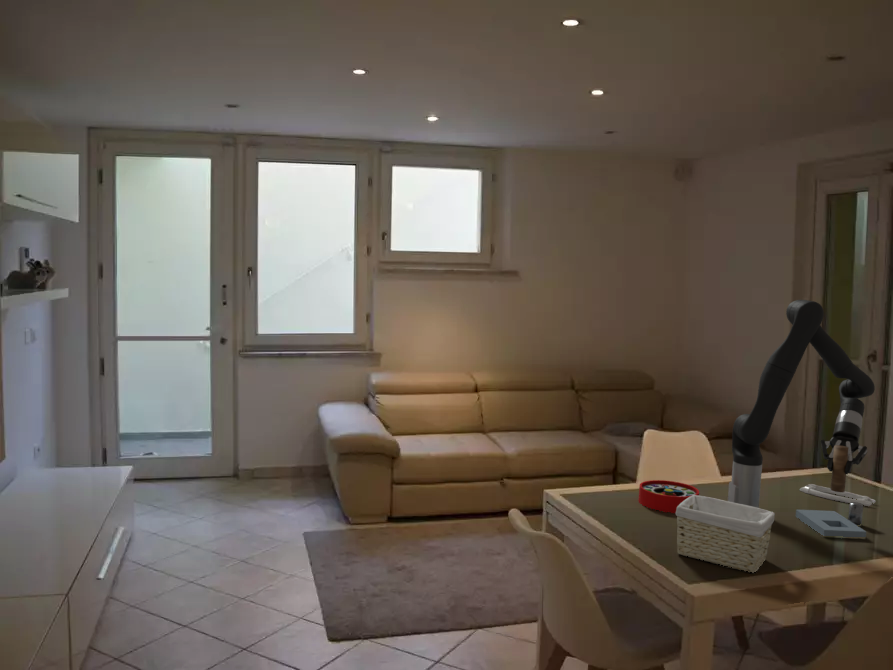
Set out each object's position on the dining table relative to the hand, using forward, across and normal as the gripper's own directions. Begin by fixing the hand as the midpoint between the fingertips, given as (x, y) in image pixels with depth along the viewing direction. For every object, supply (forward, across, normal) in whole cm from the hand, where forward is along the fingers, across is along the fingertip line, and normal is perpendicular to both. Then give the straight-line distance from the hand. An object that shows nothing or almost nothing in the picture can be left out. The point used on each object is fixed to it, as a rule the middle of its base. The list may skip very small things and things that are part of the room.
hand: (838, 471), depth 244 cm
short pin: (+4, +4, +25) cm, 26 cm away
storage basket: (+47, -21, -18) cm, 54 cm away
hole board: (+10, -2, +18) cm, 21 cm away
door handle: (-17, -6, +47) cm, 50 cm away
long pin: (+3, 0, +6) cm, 7 cm away
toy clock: (+19, -51, +10) cm, 55 cm away
